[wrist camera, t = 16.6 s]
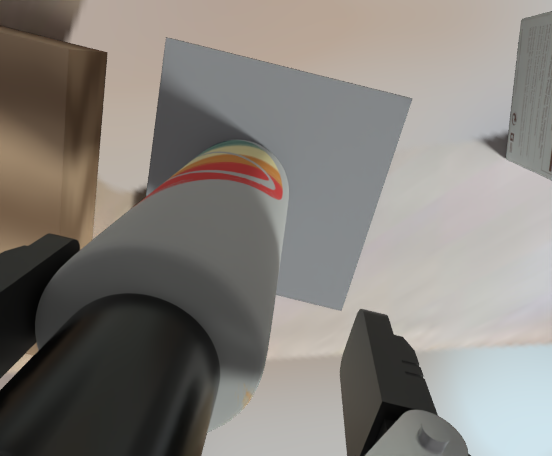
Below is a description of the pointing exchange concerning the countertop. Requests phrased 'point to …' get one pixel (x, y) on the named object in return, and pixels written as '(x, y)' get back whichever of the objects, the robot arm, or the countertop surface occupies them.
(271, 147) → the rubber mat
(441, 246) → the countertop surface
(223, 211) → the lotion bottle
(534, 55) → the supplement box
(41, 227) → the block
